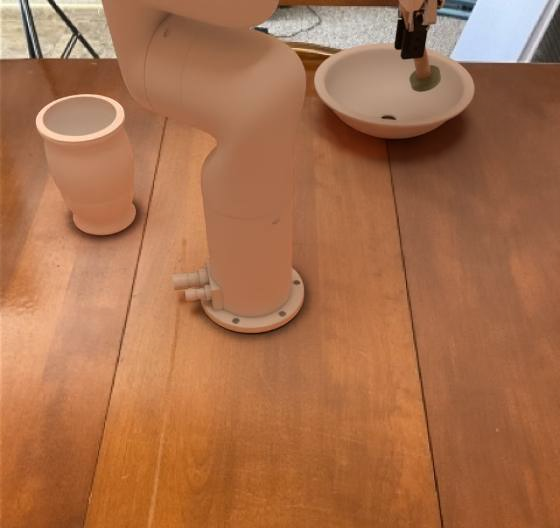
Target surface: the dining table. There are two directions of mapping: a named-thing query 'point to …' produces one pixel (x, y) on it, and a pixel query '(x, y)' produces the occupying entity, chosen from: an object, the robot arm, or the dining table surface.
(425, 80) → the stamp with round base
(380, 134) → the beige sink basin
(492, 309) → the dining table surface
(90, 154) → the jar
